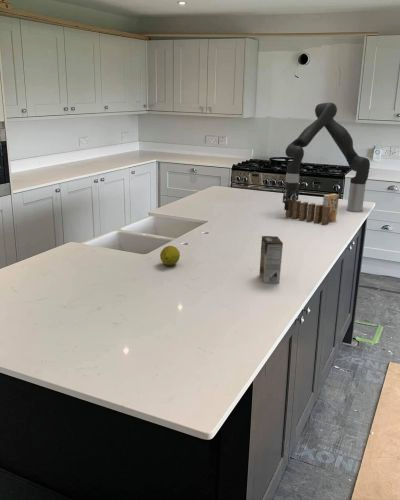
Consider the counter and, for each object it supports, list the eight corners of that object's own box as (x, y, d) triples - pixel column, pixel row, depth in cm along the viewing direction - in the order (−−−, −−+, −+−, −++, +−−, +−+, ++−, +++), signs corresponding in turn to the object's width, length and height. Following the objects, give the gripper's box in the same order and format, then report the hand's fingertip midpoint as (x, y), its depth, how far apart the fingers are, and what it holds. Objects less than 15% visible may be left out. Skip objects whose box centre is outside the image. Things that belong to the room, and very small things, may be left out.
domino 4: (310, 220, 292) (312, 203, 289) (313, 220, 291) (315, 203, 288) (306, 221, 288) (308, 204, 285) (309, 222, 287) (311, 205, 284)
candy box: (330, 219, 295) (333, 193, 291) (336, 221, 292) (339, 194, 287) (320, 221, 290) (323, 194, 285) (326, 223, 287) (329, 196, 282)
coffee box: (258, 274, 202) (261, 235, 198) (274, 274, 203) (277, 235, 198) (263, 283, 194) (266, 242, 189) (279, 283, 194) (283, 242, 190)
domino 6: (325, 223, 287) (327, 205, 284) (328, 223, 286) (330, 206, 283) (321, 224, 283) (323, 207, 280) (324, 225, 282) (326, 207, 279)
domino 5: (317, 221, 289) (319, 204, 286) (321, 222, 288) (323, 204, 285) (314, 223, 286) (315, 205, 283) (317, 223, 285) (319, 206, 282)
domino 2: (296, 217, 297) (298, 200, 294) (299, 218, 296) (301, 201, 293) (292, 219, 294) (293, 201, 291) (295, 219, 292) (297, 202, 289)
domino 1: (289, 216, 300) (291, 199, 297) (292, 216, 299) (294, 200, 296) (285, 217, 296) (286, 200, 293) (288, 218, 295) (289, 201, 292)
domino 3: (303, 218, 295) (305, 201, 292) (306, 219, 294) (308, 202, 291) (299, 220, 291) (301, 203, 288) (302, 221, 290) (304, 203, 287)
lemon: (166, 260, 217) (166, 241, 214) (183, 262, 214) (183, 244, 212) (155, 267, 207) (155, 248, 205) (172, 270, 204) (172, 251, 202)
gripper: (292, 178, 299) (289, 206, 304) (280, 181, 288) (277, 209, 293) (303, 180, 294) (301, 208, 299) (292, 183, 284) (289, 212, 288)
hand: (289, 209), depth 296 cm, fingers open, 8 cm apart
